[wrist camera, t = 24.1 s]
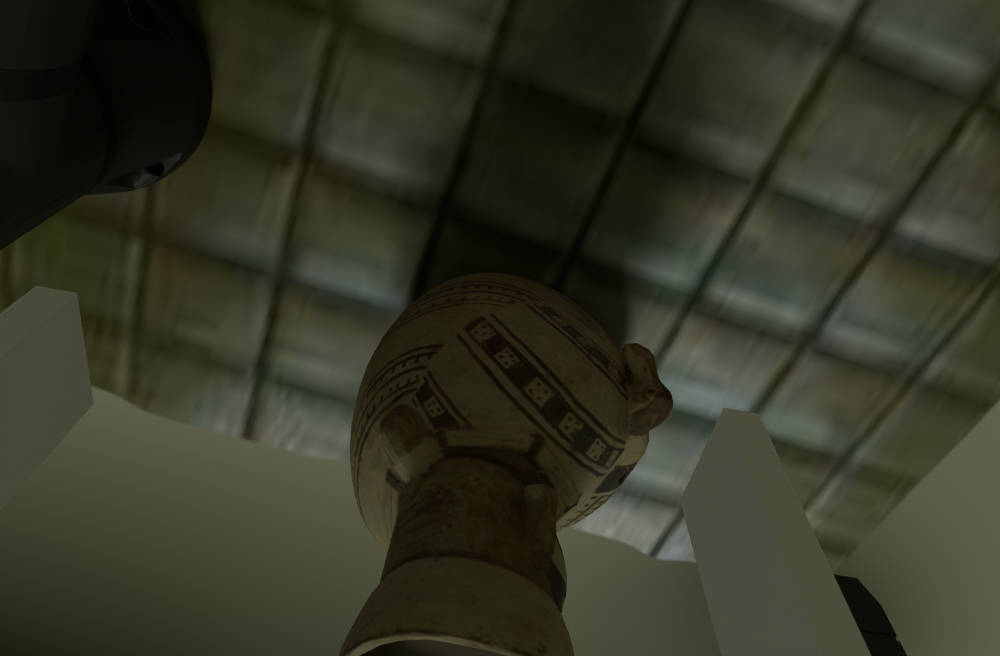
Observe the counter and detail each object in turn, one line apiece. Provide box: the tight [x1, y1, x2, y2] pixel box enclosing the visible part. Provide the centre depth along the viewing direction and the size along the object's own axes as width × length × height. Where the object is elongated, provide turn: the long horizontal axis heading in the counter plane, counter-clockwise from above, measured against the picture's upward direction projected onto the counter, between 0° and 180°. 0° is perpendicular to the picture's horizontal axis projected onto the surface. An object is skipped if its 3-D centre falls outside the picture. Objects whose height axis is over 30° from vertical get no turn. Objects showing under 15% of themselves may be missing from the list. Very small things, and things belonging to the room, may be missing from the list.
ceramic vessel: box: [339, 272, 673, 656], centre depth 42 cm, size 19×21×30 cm
